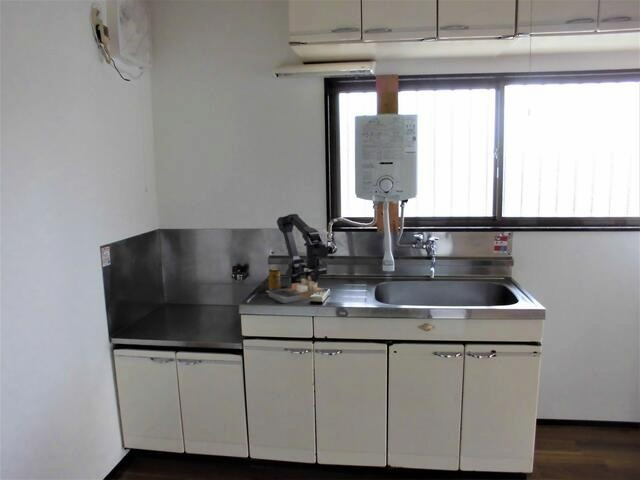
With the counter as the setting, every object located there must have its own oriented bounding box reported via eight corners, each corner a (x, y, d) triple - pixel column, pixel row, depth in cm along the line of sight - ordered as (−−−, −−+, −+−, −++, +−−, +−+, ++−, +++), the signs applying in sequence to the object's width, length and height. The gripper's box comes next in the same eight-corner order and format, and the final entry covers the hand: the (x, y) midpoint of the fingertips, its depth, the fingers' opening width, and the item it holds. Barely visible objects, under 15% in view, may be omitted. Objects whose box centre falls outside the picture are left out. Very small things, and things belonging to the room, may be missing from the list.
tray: (268, 296, 227) (268, 291, 226) (284, 293, 231) (284, 288, 231) (284, 303, 213) (283, 298, 213) (300, 300, 218) (300, 295, 218)
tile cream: (296, 290, 225) (296, 285, 225) (303, 289, 227) (303, 284, 227) (300, 292, 222) (300, 287, 221) (307, 291, 224) (307, 286, 224)
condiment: (276, 289, 241) (276, 267, 239) (286, 292, 234) (285, 269, 233) (265, 291, 236) (264, 269, 235) (274, 294, 230) (273, 271, 228)
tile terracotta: (291, 288, 229) (291, 283, 229) (298, 287, 231) (298, 282, 231) (295, 290, 226) (295, 285, 226) (302, 289, 228) (302, 284, 228)
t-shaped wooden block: (301, 286, 234) (300, 274, 233) (309, 284, 237) (309, 273, 236) (313, 290, 224) (313, 279, 223) (322, 289, 227) (321, 277, 226)
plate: (285, 294, 231) (285, 288, 230) (309, 289, 238) (309, 284, 238) (299, 300, 219) (299, 294, 218) (324, 295, 227) (324, 289, 226)
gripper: (335, 256, 225) (336, 286, 227) (315, 251, 240) (316, 280, 243) (316, 258, 219) (317, 290, 221) (297, 253, 234) (298, 283, 237)
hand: (312, 285), depth 231 cm, fingers closed on t-shaped wooden block, 3 cm apart
